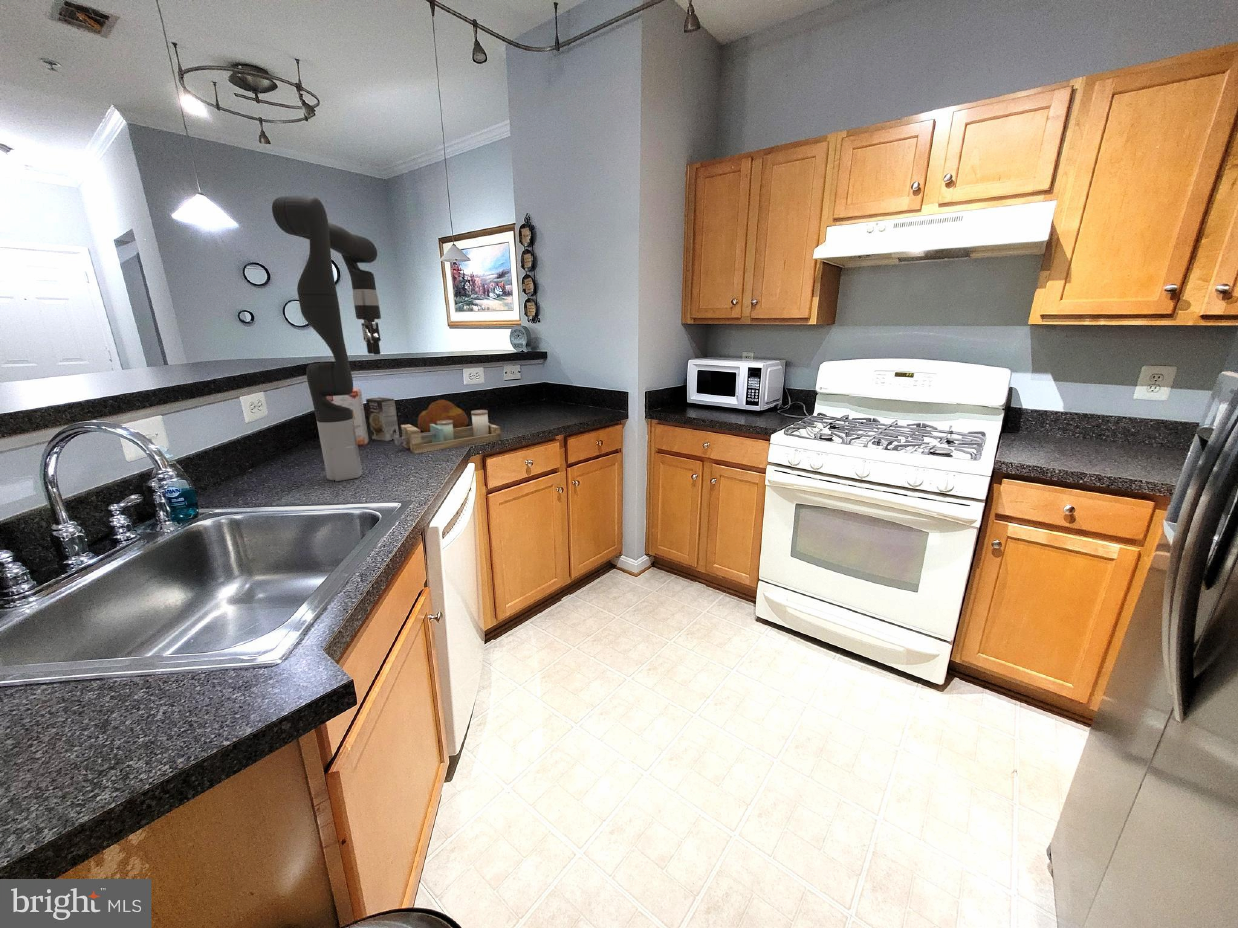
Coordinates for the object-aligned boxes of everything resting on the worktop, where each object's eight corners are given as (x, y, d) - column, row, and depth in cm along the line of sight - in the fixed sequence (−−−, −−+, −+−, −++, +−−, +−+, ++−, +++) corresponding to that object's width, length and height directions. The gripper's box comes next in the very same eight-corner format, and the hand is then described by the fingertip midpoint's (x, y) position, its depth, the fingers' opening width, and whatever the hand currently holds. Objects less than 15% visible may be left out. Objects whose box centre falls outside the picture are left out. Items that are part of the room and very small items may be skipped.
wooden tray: (501, 439, 188) (499, 419, 186) (414, 453, 169) (411, 431, 167) (486, 433, 199) (484, 414, 197) (403, 446, 180) (400, 425, 178)
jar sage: (457, 444, 182) (454, 421, 180) (442, 446, 179) (439, 423, 176) (451, 441, 186) (449, 419, 184) (437, 443, 183) (434, 421, 181)
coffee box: (371, 439, 193) (364, 399, 188) (385, 435, 198) (379, 396, 194) (386, 441, 188) (380, 400, 184) (400, 438, 194) (394, 398, 189)
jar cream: (492, 438, 190) (490, 411, 187) (477, 441, 187) (474, 413, 184) (486, 436, 195) (483, 409, 192) (471, 438, 191) (468, 411, 188)
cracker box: (324, 448, 179) (314, 391, 173) (329, 444, 185) (319, 389, 179) (366, 445, 182) (357, 390, 177) (369, 441, 188) (360, 388, 182)
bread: (405, 436, 197) (400, 406, 193) (433, 421, 228) (429, 395, 225) (456, 436, 197) (453, 406, 194) (477, 421, 228) (475, 395, 225)
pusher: (444, 447, 177) (442, 428, 175) (401, 453, 168) (398, 434, 166) (435, 441, 185) (432, 423, 183) (393, 447, 176) (390, 429, 175)
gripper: (383, 303, 157) (390, 354, 161) (374, 305, 168) (381, 353, 172) (358, 303, 153) (366, 355, 157) (350, 305, 164) (357, 354, 168)
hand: (374, 354), depth 165 cm, fingers open, 8 cm apart
